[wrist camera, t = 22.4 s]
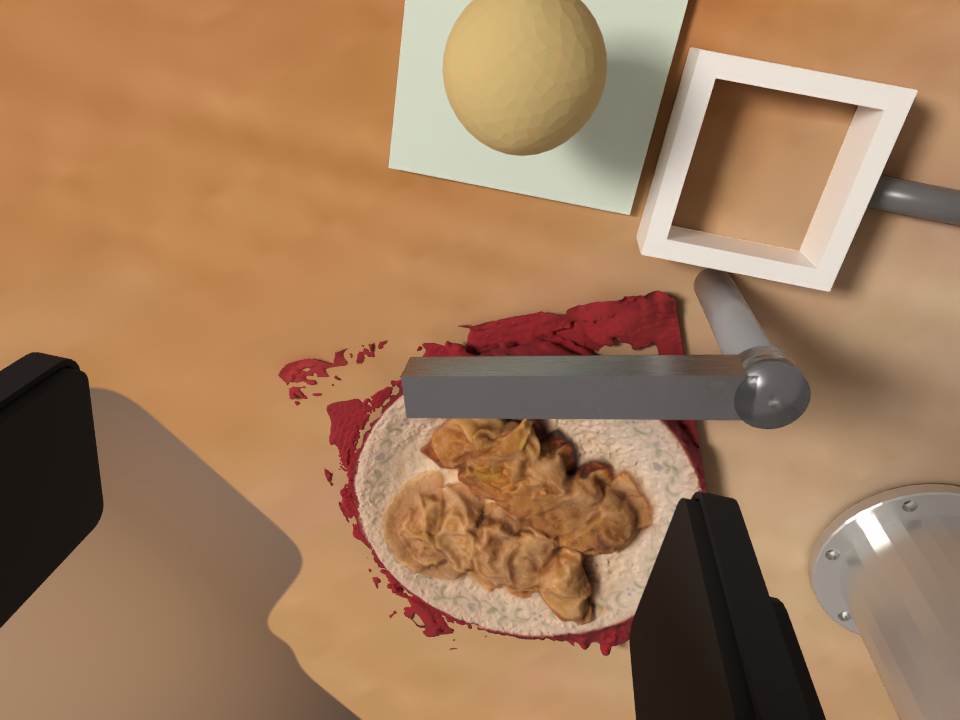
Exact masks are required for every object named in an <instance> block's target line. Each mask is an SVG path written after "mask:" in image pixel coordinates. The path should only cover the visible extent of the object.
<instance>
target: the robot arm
mask: <svg viewBox="0 0 960 720" xmlns="http://www.w3.org/2000/svg"><path fill="white" fill-rule="evenodd" d="M102 512H103V495H102V487H101V479H100V471H99V463H98V455H97V447H96V438H95V430H94V422H93V414H92V406H91V398H90V390H89V381H88V378H87V375H86V374H85V373H84V372H82V371H80V368H79V366H78V364H77V363H76V362H75V361H73V360H72V359H67V358H63V357H58V356H53V355H48V354H44V353H39V352H32V353H30V354H27V355H25V356H24V357H22V358H21V359H19V360H17V361H16V362H14V363H13V364H11V365H9V366H8V367H6V368H4V369H3V370H1V371H0V628H1V627H2V626H3V625H4V624H5V623H6V621H7V620H8V619H9V618H10V617H11V616H12V615H13V614H14V613H15V612H16V611H17V610H18V609H19V607H20V606H21V605H22V604H23V603H24V602H25V601H26V600H27V599H28V598H29V597H30V596H31V595H32V594H33V593H34V592H35V591H36V590H37V588H38V587H39V586H40V585H41V584H42V583H43V582H44V581H45V580H46V579H47V578H48V577H49V576H50V575H51V573H52V572H53V571H54V570H55V569H56V568H57V567H58V566H59V565H60V564H61V563H62V562H63V561H64V560H65V559H66V558H67V557H68V555H69V554H70V553H71V552H72V551H73V550H74V549H75V548H76V547H77V546H78V545H79V544H80V543H81V541H83V540H84V538H85V537H86V536H87V535H88V534H89V533H90V532H91V531H92V530H93V529H94V528H95V526H96V525H97V524H98V522H99V520H100V518H101V515H102ZM809 578H810V582H811V587H812V589H813V591H814V593H815V596H816V598H817V601H818V603H819V604H820V606H821V607H822V608H823V610H824V611H825V613H826V614H827V615H828V616H829V617H830V618H831V619H832V620H833V621H835V622H836V623H837V624H839V625H841V626H842V627H844V628H846V629H847V630H849V631H851V632H853V633H856V634H859V635H861V637H862V640H863V642H864V644H865V646H866V648H867V650H868V653H869V655H870V657H871V659H872V661H873V663H874V665H875V668H876V670H877V672H878V674H879V676H880V678H881V681H882V683H883V685H884V687H885V689H886V691H887V694H888V696H889V698H890V700H891V702H892V704H893V707H894V709H895V711H896V713H897V715H898V717H899V720H960V487H959V486H954V485H945V484H921V485H910V486H904V487H900V488H895V489H891V490H887V491H884V492H881V493H879V494H876V495H873V496H871V497H868V498H866V499H864V500H862V501H860V502H859V503H857V504H855V505H853V506H851V507H849V508H848V509H847V510H845V511H844V512H843V513H842V514H840V515H839V516H838V517H836V518H835V519H834V520H833V521H832V522H831V523H830V524H829V525H828V526H827V527H826V529H825V530H824V531H823V532H822V533H821V535H820V537H819V538H818V540H817V542H816V543H815V545H814V547H813V550H812V553H811V557H810V560H809ZM630 654H631V666H632V677H633V689H634V700H635V712H636V720H826V718H825V716H824V713H823V710H822V707H821V704H820V702H819V699H818V696H817V693H816V690H815V688H814V685H813V682H812V679H811V676H810V674H809V671H808V668H807V665H806V662H805V660H804V657H803V654H802V651H801V649H800V646H799V643H798V640H797V637H796V635H795V632H794V629H793V626H792V623H791V621H790V618H789V615H788V612H787V610H786V608H785V606H784V604H783V603H782V602H781V601H780V600H779V599H778V598H774V597H770V596H769V594H768V591H767V588H766V585H765V582H764V579H763V576H762V573H761V570H760V567H759V564H758V561H757V558H756V555H755V552H754V549H753V546H752V543H751V540H750V537H749V534H748V531H747V528H746V525H745V522H744V519H743V516H742V513H741V510H740V507H739V505H738V503H737V501H736V500H735V499H733V498H728V497H724V496H719V495H714V494H709V493H705V492H700V491H697V492H695V493H694V495H693V496H692V498H691V499H687V498H681V499H680V500H679V502H678V504H677V506H676V509H675V511H674V514H673V516H672V519H671V522H670V524H669V527H668V529H667V532H666V535H665V537H664V540H663V542H662V545H661V548H660V550H659V553H658V555H657V558H656V561H655V563H654V566H653V568H652V571H651V573H650V576H649V579H648V581H647V584H646V586H645V589H644V592H643V594H642V597H641V599H640V602H639V605H638V607H637V610H636V612H635V615H634V618H633V621H632V624H631V630H630Z"/></svg>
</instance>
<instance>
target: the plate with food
mask: <svg viewBox="0 0 960 720" xmlns="http://www.w3.org/2000/svg"><path fill="white" fill-rule="evenodd" d="M566 313H567V314H565V315H561V316H558V315H555V314H553V313H544V312H542V311H541V312H538V313H534V314H528V315H521V316H514V317H510V318H506V319H501V320H497V321H491V322H486V323H483V324H480V325H476V326H472V325H462V326H459V327H465V328H470V333H469V334H468V343H467V346H466V347H464V346H462V345H461V344H457V343H450V342H449V341H447V342H446V343H445V346H442V345H439V344H436V343H424V344H423V345H422V346H423V347H424V348H425V349H426V352H425V353H424V355H423V357H478V356H595V355H594V354H593V353H592V351H594V350H596V351H599V349H600V348H601V347H603V346H604V345H607V346H612V345H613V344H614V341H613V339H612V338H614V337H616V338H617V340H618V341H619V342H622V343H628V344H631V345H632V349H633V350H637V349H638V348H640V347H646V346H648V345H650V344H651V343H654V344H655V345H656V346H657V348H658V352H659V355H684V354H683V347H682V341H681V335H680V329H679V323H678V316H677V309H676V303H675V298H672V297H669V296H668V295H667V294H666V293H664V292H660V291H653V292H651V293H648V294H647V295H645V296H629V297H626V296H625V297H624V298H623V299H622V300H619V301H607V302H594V303H590V304H586V305H578V306H576V307H573V308H571V309H568V310H567V311H566ZM387 341H388V340H387ZM387 341H384V342H380V343H379V345H378V348H379V349H382V348H383V345H385V344H386V343H387ZM374 346H375V343H374V344H372V345H369V347H370V351H371V353H370V352H369V350H368V349H366V348H364V350H363V352H359V353H358V356H357V360H356V362H357V363H358V364H359V363H360V364H362V363H363V362H364V359H365V357H364V354H366V355H367V356H368V357H375V354H374ZM363 347H364V345H363ZM346 350H347V349H345V350H342V351H340V352H337V353H335V354H336V355H335V359H334V364H330V363H326V362H322V361H317V360H316V359H312V360H311V359H305V360H299V361H295V362H292V363H289V364H287V365H285V367H284V368H282V370H281V371H280V373H279V375H278V376H279V377H281V378H282V379H283V381H285V382H286V384H287V385H288V383H289V382H296V383H298V382H301V381H303V382H306V383H307V384H310V385H314V384H315V383H316V381H315V380H308V379H306V376H313V373H316V374H317V377H329V375H328V374H327V373H326V371H325V370H326V369H327V368H331V367H337V366H346V365H347V364H348V362H347V360H345V358H344V352H345V351H346ZM419 350H421V347H420V346H419V347H418V349H417V351H419ZM350 355H351V358H352V356H353V355H352V354H351V353H350ZM305 368H310V370H309V371H308V372H306V371H303V370H302V369H305ZM402 373H403V372H402ZM400 377H401V376H400ZM334 378H335V379H337V380H340V378H338V377H337V376H335V377H334ZM391 384H392V386H393V387H394V386H395V385H397V386H398V387H399V393H398V394H397V395H392V396H391V397H390V394H391V393H392V391H391V390H392V389H393V388H392V387H386V388H385V389H383V390H381V391H379V392H377V393H376V394H375V395H374V396H371V398H372V399H373V400H372V401H370V399H365V400H364V402H361V401H360V400H359V399H353V400H349V401H341V402H336V403H332V404H330V405H328V406H327V412H328V414H329V416H330V419H331V433H330V436H329V441H330V444H331V445H333V444H335V445H336V446H337V447H338V449H339V453H340V455H339V457H341V459H340V460H341V461H342V463H343V464H342V466H343V465H344V467H345V468H347V470H346V469H345V468H343V467H342V466H340V467H341V468H342V469H343V470H344V471H345V472H346V471H348V473H347V477H348V476H349V477H348V479H349V482H348V484H345V487H344V488H343V489H342V490H341V491H340V494H341V496H342V498H343V500H342V504H340V502H339V506H340V509H341V511H342V512H343V515H344V516H345V517H346V520H347V521H348V523H349V520H348V517H349V518H352V517H353V516H355V519H356V520H357V524H355V525H354V524H353V530H354V531H353V535H354V537H355V538H357V539H358V540H361V541H362V542H363V543H364V544H365V545H366V546H368V548H371V550H372V548H373V551H372V554H373V555H374V561H375V562H376V563H377V564H378V567H380V568H385V569H386V570H387V571H386V570H384V569H382V570H381V571H380V572H381V573H383V574H385V575H386V577H387V578H388V581H390V583H391V584H388V585H387V588H389V589H392V593H396V595H399V596H401V597H404V598H407V599H408V600H409V602H410V604H411V607H405V608H404V610H405V612H404V615H405V616H406V617H408V618H410V619H411V620H412V614H414V613H416V614H417V615H418V616H420V618H421V620H422V621H423V623H424V624H425V626H418V625H416V626H418V627H420V628H426V629H425V630H424V631H423V634H425V635H426V636H427V637H435V636H439V635H442V634H452V633H453V631H454V630H453V629H451V628H449V627H448V625H447V623H446V622H445V621H444V618H443V617H442V615H444V616H445V617H446V619H447V622H452V623H454V622H453V621H456V623H458V624H460V625H465V624H466V625H468V624H469V625H468V628H469V629H472V626H471V624H476V625H478V627H477V629H478V630H486V631H487V632H489V633H494V634H501V635H504V636H505V635H509V636H513V637H517V638H521V639H541V640H544V639H545V638H548V639H551V640H553V641H555V640H558V641H568V642H569V643H570V644H571V645H573V646H574V642H575V641H576V642H577V643H578V644H579V645H580V646H581V648H582V649H584V650H586V649H587V648H588V647H589V646H590V644H591V643H592V642H599V643H600V649H601V652H602V654H603V655H605V656H608V655H609V654H610V651H611V647H612V646H617V645H619V644H623V643H625V642H626V641H628V640H629V639H630V630H631V624H632V621H633V618H634V615H635V612H636V610H637V607H638V605H639V602H640V599H641V597H642V594H643V592H644V589H645V586H646V584H647V581H648V579H649V576H650V573H651V571H652V568H653V566H654V563H655V561H656V558H657V555H658V553H659V550H660V548H661V545H662V542H663V540H664V537H665V535H666V532H667V529H668V527H669V524H670V522H671V519H672V516H673V514H674V511H675V509H676V506H677V504H678V502H679V500H680V499H681V498H687V499H691V498H692V496H693V495H694V493H695V492H697V491H700V492H705V493H707V489H706V483H705V477H704V471H703V465H702V459H701V453H700V448H699V444H698V438H697V432H696V426H695V420H621V419H462V418H407V417H406V410H405V403H404V395H403V388H402V381H401V380H399V381H391ZM332 386H334V384H332ZM301 388H306V387H305V386H304V387H292V388H289V395H290V399H295V398H296V397H300V398H303V399H307V396H306V395H303V393H302V392H301V391H300V389H301ZM313 395H314V396H321V395H322V394H321V393H317V394H315V393H314V394H313ZM388 397H390V402H388V403H387V404H386V405H385V406H381V407H383V409H382V411H381V413H383V414H382V415H381V417H380V418H378V419H376V420H375V421H373V422H372V423H370V426H371V429H370V430H368V431H367V432H366V433H365V434H364V437H363V445H362V446H361V448H359V449H358V450H357V449H356V445H357V443H358V439H359V438H360V435H359V433H360V432H359V429H361V430H363V429H364V426H365V425H366V423H367V421H369V416H370V414H366V413H367V412H369V411H370V413H372V411H371V410H373V411H374V412H375V408H379V407H380V405H382V404H383V402H384V401H385V400H386V399H388ZM368 402H370V403H371V405H372V407H370V405H368V404H367V403H368ZM295 404H296V405H299V404H300V402H298V401H295ZM362 407H363V408H362ZM358 422H359V423H358ZM356 436H357V437H356ZM355 441H356V443H355V444H354V442H355ZM356 450H357V453H354V451H356ZM340 464H341V463H340ZM345 465H347V466H345ZM339 470H340V469H339ZM325 475H326V478H327V480H328V482H330V480H331V479H332V477H331V474H330V473H329V471H328V470H326V469H325ZM330 484H331V486H332V485H333V483H331V482H330ZM346 487H348V488H346ZM348 490H350V491H348ZM354 501H355V502H356V503H354ZM367 558H368V557H367ZM369 572H371V569H369ZM373 581H374V583H375V585H376V587H377V589H378V583H380V582H381V580H380V579H379V578H377V577H374V578H373ZM402 587H403V588H404V589H405V590H407V591H408V593H410V594H412V595H413V597H411V596H408V595H407V593H403V591H404V589H403V588H402ZM415 597H416V598H415ZM396 613H397V612H396V611H394V612H393V614H392V615H389V617H390V618H391V617H392V616H393V615H394V614H396ZM414 623H415V622H414ZM415 624H416V623H415ZM485 637H486V636H485ZM453 641H454V640H453ZM451 649H458V648H451Z"/></svg>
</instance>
